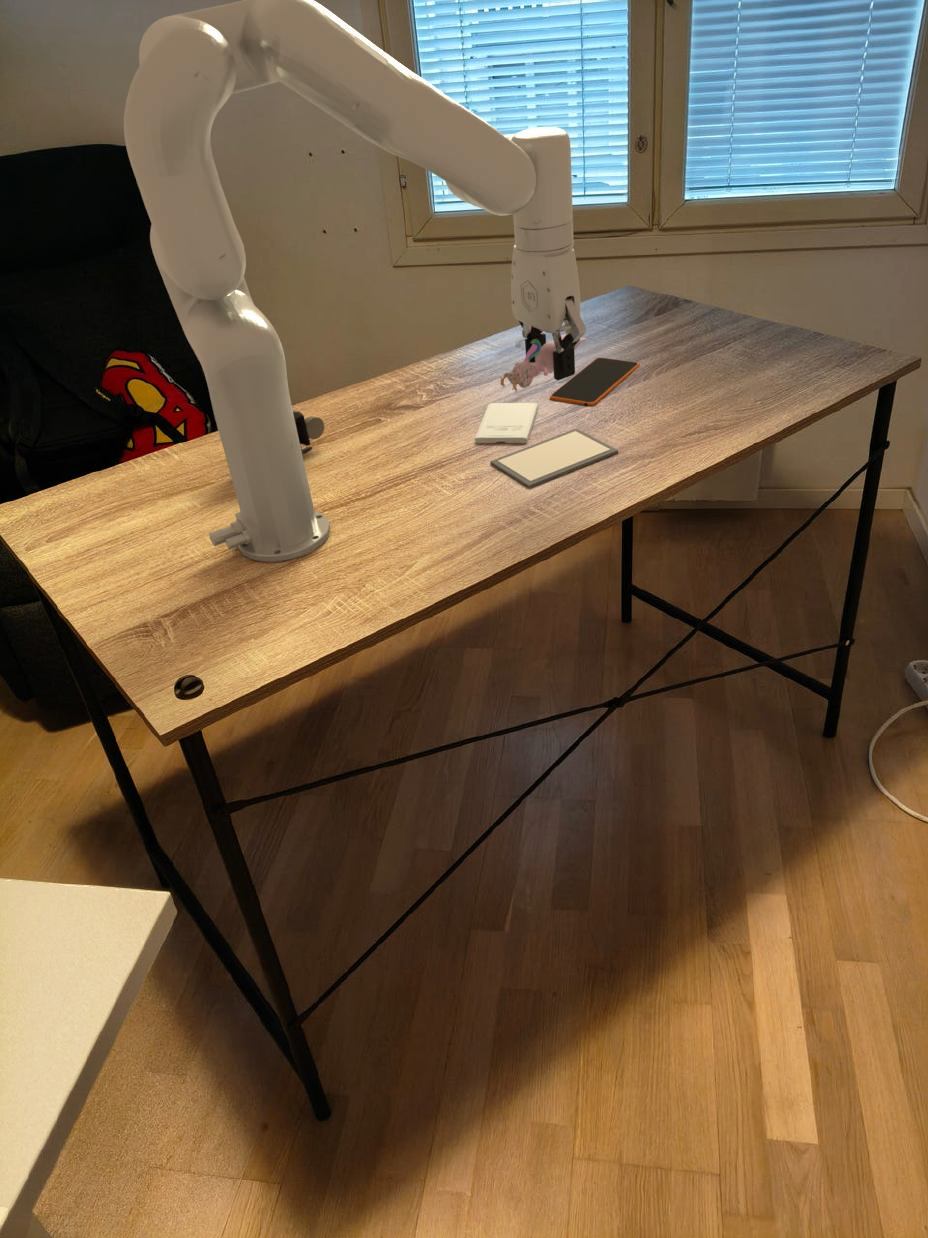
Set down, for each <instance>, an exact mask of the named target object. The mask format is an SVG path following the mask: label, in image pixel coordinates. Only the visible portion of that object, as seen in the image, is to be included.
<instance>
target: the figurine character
mask: <svg viewBox="0 0 928 1238" xmlns="http://www.w3.org/2000/svg"><path fill="white" fill-rule="evenodd" d="M292 410H293V409H292ZM293 415H294V420H295V424H296V429H297V433H298V438H299V442H300V447H301V452H302V454H303V453H305V452H308V451H310V450H312V449H313V446H310V445H311V441H310V440H318V439H319V438H320V437H321V436H322V435H323V433H324V431H325V422H324V420H323V419H321V418H320V417H317V416H313V415H310V416H307V417H306V418H305V416H304V414H303V413H302V412H301V411H298V410H293ZM302 445H304V446H307V447H305V448H302Z"/></svg>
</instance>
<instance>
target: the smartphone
mask: <svg viewBox="0 0 928 1238" xmlns="http://www.w3.org/2000/svg"><path fill="white" fill-rule="evenodd" d="M638 366H640V363H639V362H637V361H629V360H622V359H613V358H608V357H607V358H606V357H596V358H595V359H594V360H593V361H591V362H590V363H589V364H587V365H586V366H585V367H584V368H583V369H581V370H580V371H579V372H578V373H575V374H574V375H573V377H571V378H570V379H569V380H568V381H567V382H565V383H564V384H563V385H561V386H560V387H558V389H556V391H554V392H553V393H551V394H550V395H549V398H550V400H551V401H556V402H557V401H558V402H562V403H569V404H576V405H583V406H586V405H587V406H588V407H594V406H596V405H597V404H599V402H600V401H602V400H603V399H604V398H605V397H606V396H607V395H608V394H609V393H610V392H612V390H614V389H615V388H616V387H617V386H618V385H620V384H621V383H622V382H623V381H624V380H625V379H626V378H627V377H629V376H630V375H631V374H632V373H633V372H634V371H636V369H638V368H639V367H638ZM637 367H638V368H637ZM629 374H630V375H629Z"/></svg>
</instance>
